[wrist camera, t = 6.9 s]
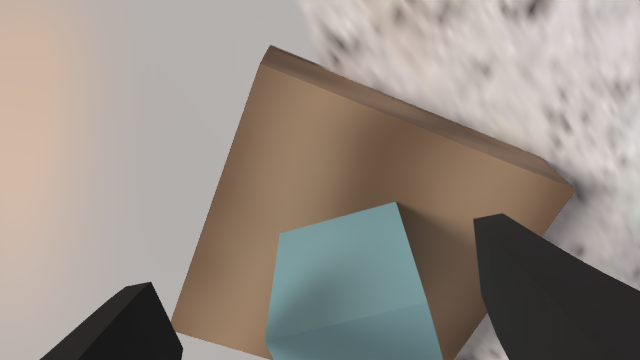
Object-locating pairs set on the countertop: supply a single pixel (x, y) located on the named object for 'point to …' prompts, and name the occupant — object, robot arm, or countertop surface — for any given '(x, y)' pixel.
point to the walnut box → (352, 197)
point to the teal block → (349, 292)
